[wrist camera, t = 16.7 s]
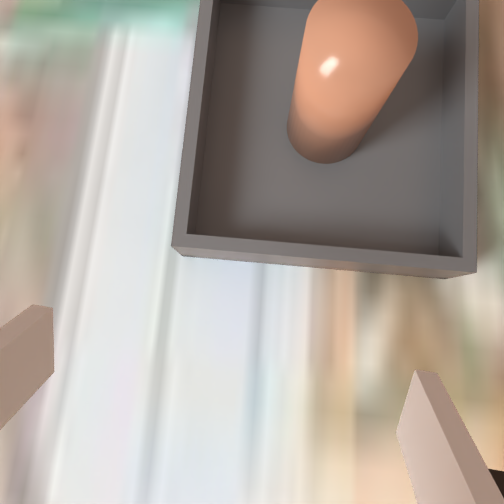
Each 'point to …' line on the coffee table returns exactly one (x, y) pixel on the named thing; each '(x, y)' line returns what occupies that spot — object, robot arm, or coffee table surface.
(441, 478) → the robot arm
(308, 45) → the orange rounded cylinder
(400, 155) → the bin
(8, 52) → the coffee table surface
